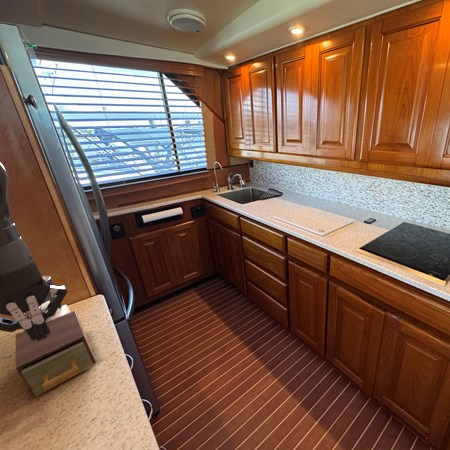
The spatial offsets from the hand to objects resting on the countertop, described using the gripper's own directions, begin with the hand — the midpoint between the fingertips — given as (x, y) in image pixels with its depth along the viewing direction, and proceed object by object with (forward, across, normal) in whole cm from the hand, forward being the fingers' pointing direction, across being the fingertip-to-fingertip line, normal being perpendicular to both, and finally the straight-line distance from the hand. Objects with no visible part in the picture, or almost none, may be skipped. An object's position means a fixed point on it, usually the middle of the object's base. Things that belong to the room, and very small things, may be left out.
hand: (42, 337), depth 50 cm
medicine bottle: (+15, 0, -24) cm, 28 cm away
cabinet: (+15, 0, -11) cm, 19 cm away
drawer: (+14, 0, -6) cm, 16 cm away
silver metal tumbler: (+15, 0, -32) cm, 35 cm away
